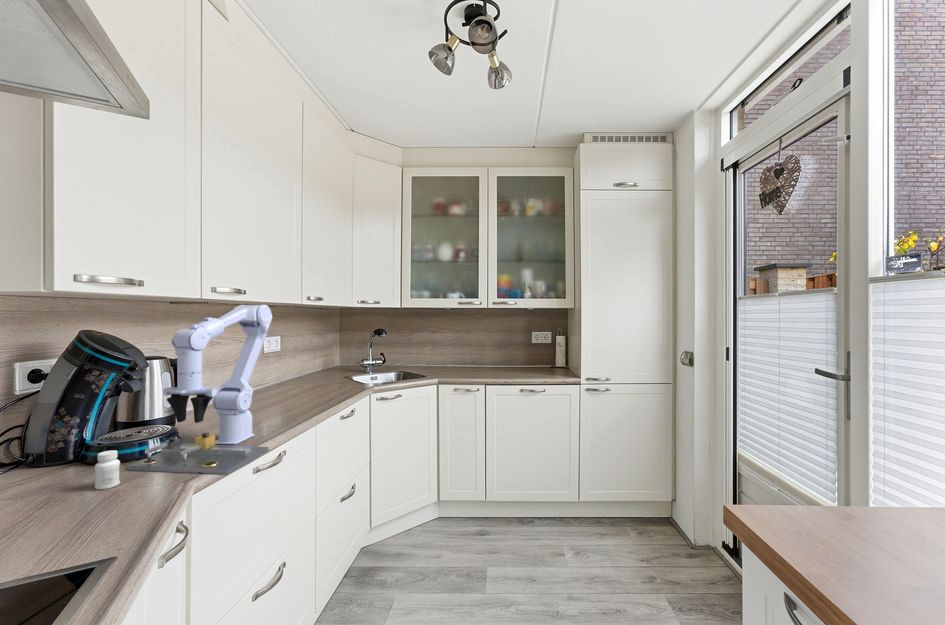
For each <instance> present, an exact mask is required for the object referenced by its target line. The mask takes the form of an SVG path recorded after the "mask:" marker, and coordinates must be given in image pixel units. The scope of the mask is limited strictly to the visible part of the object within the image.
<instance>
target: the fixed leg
mask: <svg viewBox="0 0 945 625" xmlns="http://www.w3.org/2000/svg"><path fill="white" fill-rule="evenodd" d="M181 444H182V442H181V438H176V437H169V438H168V440H165V441H163V442H162V444H158V445H156V446H154V447H150V448H148V449H145V450H144V451H145V452H144V454H146V455H147V458H148V460H151V459H152V456H153V455H152V454H153V452H156V451H158V450H161V449H162V448H163V449H173V448H175V447H178V446H180V445H181Z"/></svg>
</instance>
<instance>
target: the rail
mask: <svg viewBox="0 0 945 625" xmlns="http://www.w3.org/2000/svg"><path fill="white" fill-rule="evenodd" d="M188 448H191V447H189V446H178V447H175V448H173V449H163V448H162V449H160V453H168V454H181V451H183V450H186V449H188ZM187 454H195V455H221V456H247V455H249V454H250V449H246V448H217V447H210V448H208V449H197V450H194V451H192V452H190V453H187Z"/></svg>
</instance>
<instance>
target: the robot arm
mask: <svg viewBox="0 0 945 625" xmlns="http://www.w3.org/2000/svg"><path fill="white" fill-rule="evenodd" d="M272 320H273V314H272V311H271V308H270V307H269V306H268V305H267V304H258V305H257V304H256V305H255V304H254V305H253V304H251V305H250V304H246V305H245V304H239V305H238V306H235V307H233V309H232V310H230V311H229V312H227V313H225V314H223V315H221V316H220V317H218V318H217V317H216V318H215V317H205V318H203V321H202V322H199V323H197V324H191V325H190V327H189V328H187V329H179V330H178V331H176V333H175V334H173V336H172V339H171V341H170V342H171V345H172V347H173V349H174V350H175V355H176V361H177V362H176V364H177V365H176V367H177V371H176V372H177V376H176V377H177V384H176V385H177V386H175V387H171V386H170V387H165V388H162V389H163V390H162V391H163V392H162V395H163V396H167V398H166V402H167V403H168V404H169V405H170V406H171V408H172V411H173V413H174V416H175V419H176V422H177V423H183V422H186V419H187V407H188V402H189V401H191V403H192V408H193V420H194V423H195V424H199V423H201V422H203V421H204V418H205V414H206V411H207V408H208V406H209V404H210V403H212V407H213V408H214V410H216V414H218V439H215V445H238V444H239V443H242V442H244V441H246V440H248V439H250V438H252V437H254V436H255V435H256V434H255V433H253V415H252V412H251V411H250V410H249V409H250V406H251V405H252V401H253V400H252V399H253V393H254V389H253V387H251V385H250V384H249V383H250V380H251V377H252V375H253V373H254V369H255V367H256V363H257V362H258V358H259V356H260V353H261V350H262V349H263V345H264V343H265V340H266V337H267V334H268V330H269V327H270V325H271V323H272ZM237 323H238V325H239V327H240V328H241V330H242V331H243V332H244V333H246V335H247V336H246V338H245V341H244V343H243V346H242V348H241V350H240V353H239V356H238V358H237V360H236V363H235V365H234V368H233V370H232V373H231V375H230V378H229V379H228V380H227V381H225V382H223V383H222V384H220V387H219V389H217V388H216V387H205V386H203V350H204V349H205V348H206V347H207V345H208V343H209V342H210V341H213V340H214V339H216V338H218V337H220V336H222V335H223V334H224V332H225V329H226V328H229V327H231V326H233V325H235V324H237ZM168 396H170V397H168ZM190 396H194V397H190ZM189 398H190V400H189Z"/></svg>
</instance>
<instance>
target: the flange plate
mask: <svg viewBox="0 0 945 625" xmlns="http://www.w3.org/2000/svg"><path fill="white" fill-rule="evenodd" d="M180 446H189V447H193V446H195V443H194V444H193V443H192V444H190V443H181V445H180ZM212 447H217V448H246V449H250V454H249V455H247V456H221V455H195V454H187V461H185V462H183V455H181V454H168V453H161V452H158V453H157V454H154V455H152V459H151V460H148V457H146V458H143V459H141V460H138V461H136V462H134V463H132V464H128V471H140V472H161V473H163V472H164V473H185V474H186V473H189V474H191V473H192V474H210V475H212V474H213V475H229V474H230V473H233V472H234V471H236V470H237V469H240V468H241V467H243V466H245V465H246V464H248V463H250V462H252V461H253V460H256V459H257V458H259V457H261V456H262V455H264V454H266V453H268V452H269V446H255V445H254V446H252V445H251V446H249V445H248V446H247V445H246V446H245V445H227V444H215V445H214V446H212ZM199 472H201V473H199ZM202 472H203V473H202Z"/></svg>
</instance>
